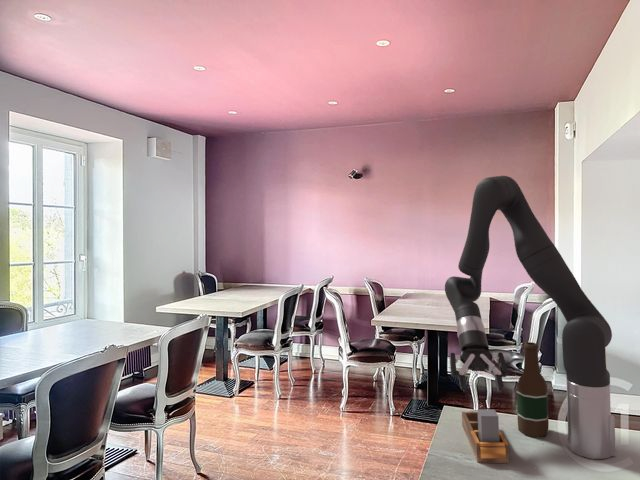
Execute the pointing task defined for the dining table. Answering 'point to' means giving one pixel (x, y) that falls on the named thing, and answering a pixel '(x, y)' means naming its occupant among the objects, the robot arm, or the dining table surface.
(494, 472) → the dining table surface
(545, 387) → the beer bottle
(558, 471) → the dining table surface
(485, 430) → the block
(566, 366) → the robot arm
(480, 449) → the bay rack
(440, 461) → the dining table surface
